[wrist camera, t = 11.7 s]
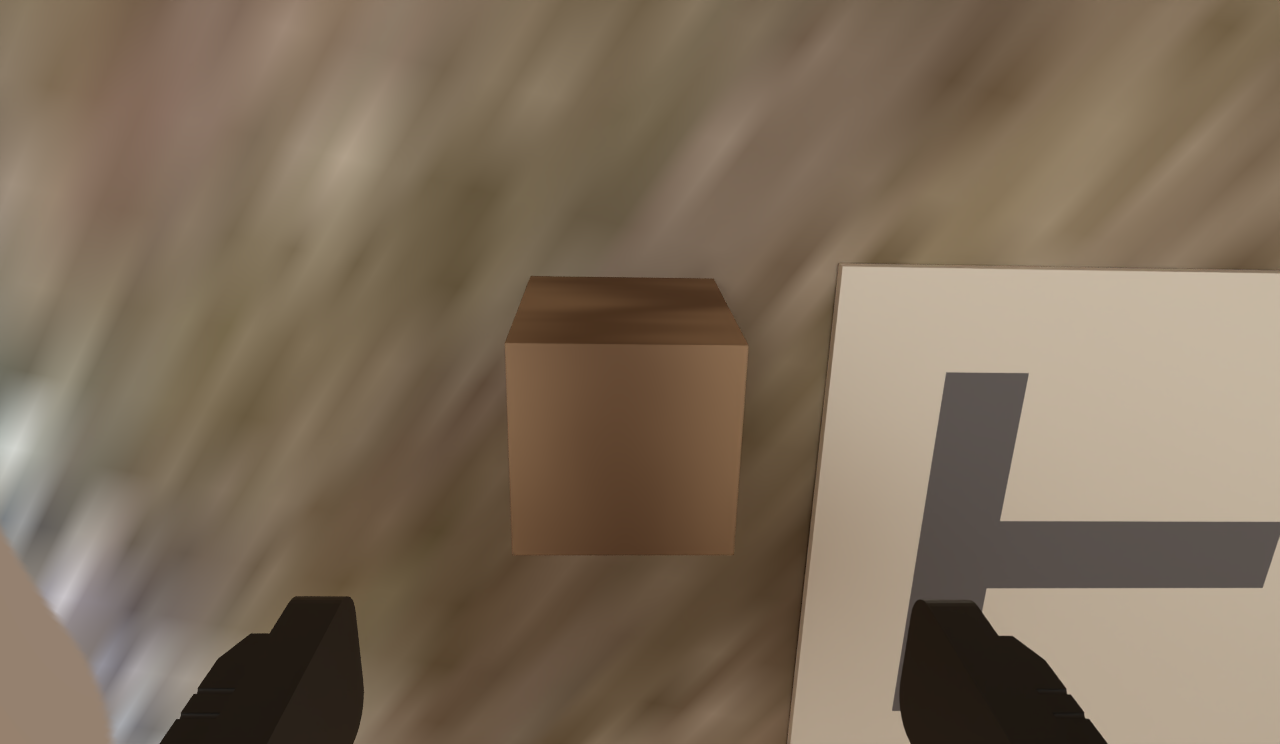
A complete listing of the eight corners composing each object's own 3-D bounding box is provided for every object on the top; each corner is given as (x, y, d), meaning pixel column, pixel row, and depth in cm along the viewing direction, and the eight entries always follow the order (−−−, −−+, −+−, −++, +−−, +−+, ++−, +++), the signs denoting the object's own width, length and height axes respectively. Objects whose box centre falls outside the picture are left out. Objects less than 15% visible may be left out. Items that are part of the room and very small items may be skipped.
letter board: (1465, 273, 23) (1479, 276, 23) (1281, 766, 29) (1290, 775, 29) (838, 263, 22) (842, 266, 22) (783, 772, 28) (786, 781, 28)
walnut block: (713, 278, 22) (748, 345, 17) (704, 443, 24) (733, 555, 19) (530, 276, 22) (504, 343, 17) (534, 442, 24) (512, 554, 18)
